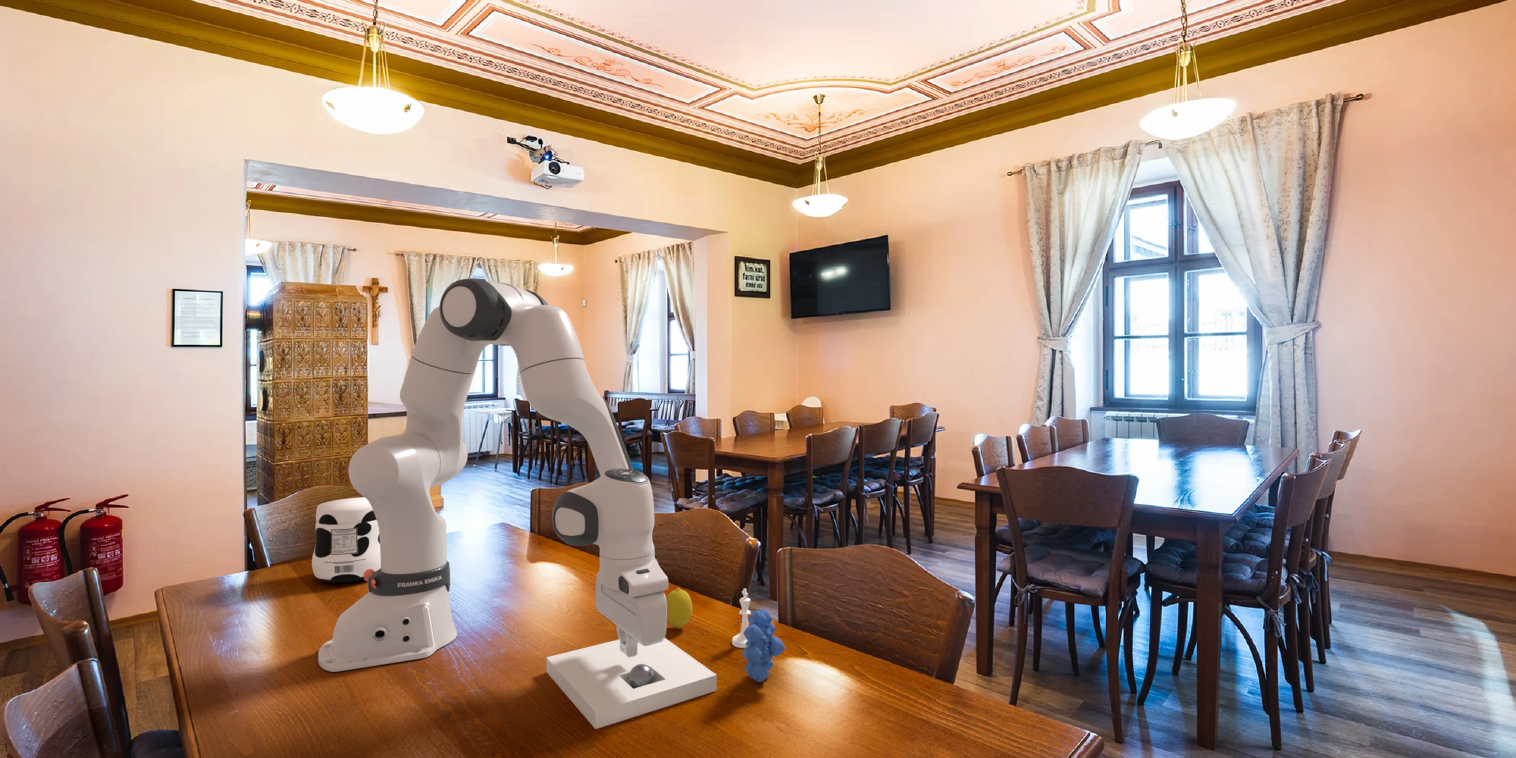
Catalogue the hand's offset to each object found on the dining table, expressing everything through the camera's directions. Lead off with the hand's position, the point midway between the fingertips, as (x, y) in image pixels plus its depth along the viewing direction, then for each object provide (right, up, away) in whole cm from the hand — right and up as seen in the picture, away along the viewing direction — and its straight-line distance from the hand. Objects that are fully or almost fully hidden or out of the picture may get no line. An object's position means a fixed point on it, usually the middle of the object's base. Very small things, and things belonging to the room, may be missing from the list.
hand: (628, 653), depth 113 cm
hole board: (0, -4, 0) cm, 4 cm away
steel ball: (+3, -2, -4) cm, 5 cm away
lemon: (+6, -4, +22) cm, 23 cm away
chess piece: (+19, -4, +15) cm, 24 cm away
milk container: (-77, -3, +56) cm, 95 cm away
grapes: (+22, -4, -1) cm, 23 cm away
